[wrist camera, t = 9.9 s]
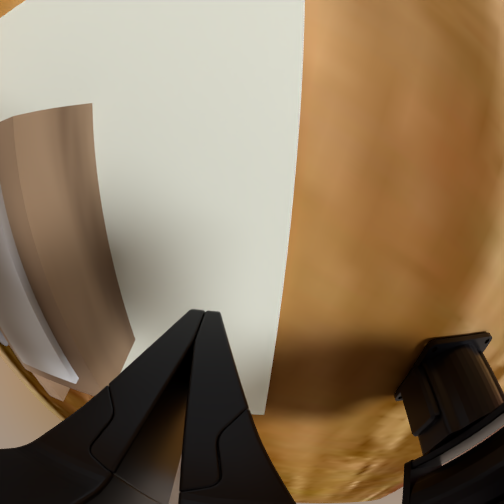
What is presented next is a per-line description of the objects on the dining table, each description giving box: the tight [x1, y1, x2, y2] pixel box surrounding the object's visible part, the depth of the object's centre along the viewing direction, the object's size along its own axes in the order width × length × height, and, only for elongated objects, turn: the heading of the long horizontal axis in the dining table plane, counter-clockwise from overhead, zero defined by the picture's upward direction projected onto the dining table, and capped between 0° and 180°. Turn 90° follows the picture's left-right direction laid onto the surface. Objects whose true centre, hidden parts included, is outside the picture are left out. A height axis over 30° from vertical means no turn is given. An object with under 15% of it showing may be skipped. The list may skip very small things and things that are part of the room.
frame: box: [0, 103, 135, 396], centre depth 9 cm, size 6×12×5 cm, turn 178°
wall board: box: [0, 0, 305, 415], centre depth 10 cm, size 18×26×4 cm
